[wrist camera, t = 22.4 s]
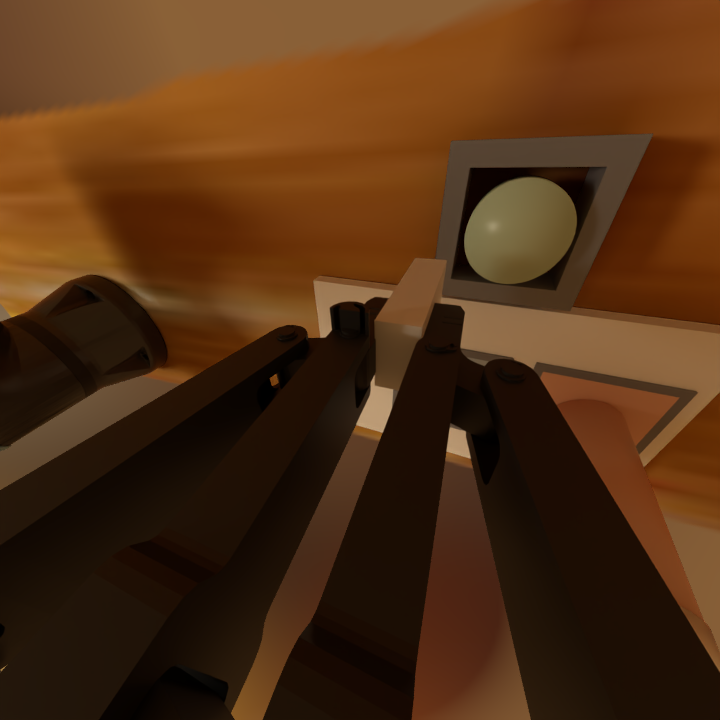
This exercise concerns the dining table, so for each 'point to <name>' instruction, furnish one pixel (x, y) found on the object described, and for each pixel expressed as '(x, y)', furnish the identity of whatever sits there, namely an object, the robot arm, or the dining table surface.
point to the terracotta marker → (635, 499)
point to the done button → (520, 230)
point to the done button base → (593, 209)
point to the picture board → (571, 359)
